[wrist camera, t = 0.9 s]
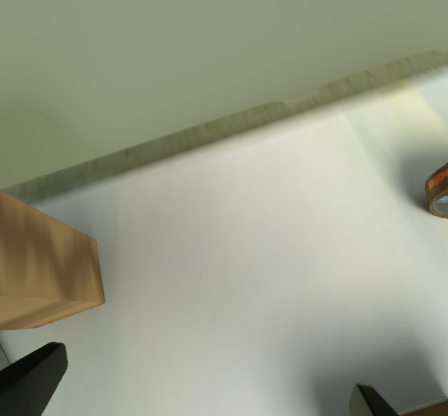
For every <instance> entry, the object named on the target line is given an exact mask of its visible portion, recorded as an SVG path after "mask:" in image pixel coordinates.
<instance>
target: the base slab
mask: <svg viewBox="0 0 448 416" xmlns="http://www.w3.org/2000/svg"><path fill="white" fill-rule="evenodd" d="M9 365H10V363H9V361H8V359H7V357H6V355H5V353H4V351H3V349H2V347H1V345H0V370H2V369H4V368H5V367H7V366H9Z"/></svg>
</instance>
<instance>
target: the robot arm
mask: <svg viewBox="0 0 448 416" xmlns="http://www.w3.org/2000/svg"><path fill="white" fill-rule="evenodd" d="M67 366H68V359H67V353H66V347H65V345H64V344H63V343H58V342H50V343H48V344H46V345H44V346H43V347H41V348H39V349H37V350H36V351H34V352H32V353H30V354H28V355H27V356H25V357H23V358H21V359H20V360H18V361H16V362H14V363H12V364H11V365H9V366H7V367H5V368H4V369H2V370H0V416H41V415H42V413H43V412H44V410H45V408H46V406H47V404H48V402H49V401H50V399H51V397H52V395H53V393H54V392H55V390H56V388H57V386H58V384H59V383H60V381H61V379H62V377H63V375H64V374H65V372H66V369H67ZM349 410H350V416H400V415H399V414H398V413H397V412H396V411H395V410H394V409H393V408H392V407H391V406H390V405H389V404H388V403H387V402H386V401H385V399H384V398H383V397H382V396H381V395H380V394H379V393H378V392H377V391H376V390H375V389H374V388H373V387H372V386H371V385H368V384H361V383H356V384H355V385H354V387H353V391H352V395H351V399H350V403H349Z"/></svg>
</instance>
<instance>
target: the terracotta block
mask: <svg viewBox="0 0 448 416" xmlns="http://www.w3.org/2000/svg"><path fill="white" fill-rule="evenodd" d="M104 303H105V299H104V292H103V286H102V279H101V272H100V266H99V259H98V253H97V246H96V240H94V239H92V238H90V237H88V236H86V235H84V234H82V233H81V232H79V231H77V230H75V229H73V228H71V227H69V226H67V225H65V224H63V223H61V222H60V221H58V220H56V219H54V218H52V217H50V216H48V215H46V214H44V213H42V212H40V211H39V210H37V209H35V208H33V207H31V206H29V205H27V204H25V203H23V202H21V201H19V200H18V199H16V198H14V197H12V196H10V195H8V194H6V193H4V192H2V191H0V330H14V329H29V328H37V327H40V326H43V325H46V324H48V323H51V322H54V321H57V320H60V319H62V318H65V317H68V316H71V315H74V314H76V313H79V312H82V311H85V310H88V309H90V308H93V307H96V306H99V305H102V304H104Z"/></svg>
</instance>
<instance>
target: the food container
mask: <svg viewBox="0 0 448 416" xmlns="http://www.w3.org/2000/svg"><path fill="white" fill-rule="evenodd" d="M397 413H398V414H399V415H400V416H448V397H444V398H440V399H437V400H434V401H431V402H428V403H425V404H422V405H419V406H415V407H412V408H409V409H406V410H403V411H400V412H397Z"/></svg>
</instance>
